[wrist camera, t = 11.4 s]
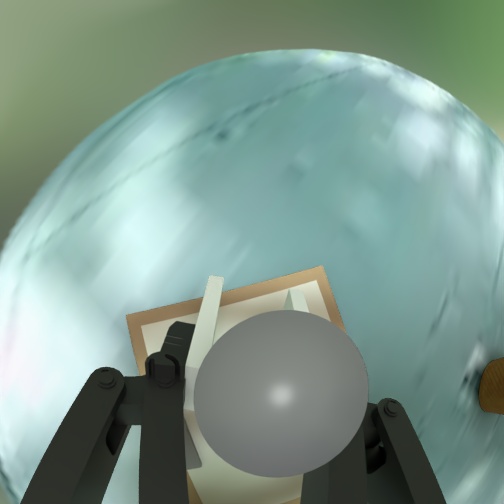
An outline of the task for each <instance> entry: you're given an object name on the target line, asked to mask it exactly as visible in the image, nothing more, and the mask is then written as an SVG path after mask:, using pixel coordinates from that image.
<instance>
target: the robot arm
mask: <svg viewBox="0 0 504 504" xmlns="http://www.w3.org/2000/svg"><path fill="white" fill-rule="evenodd" d="M223 281H224V278H223V277H218V276H212V275H210V276H209V280H208V283H207V287H206V290H205V294H204V298H203V301H202V305H201V308H200V312H199V316H198V319H197V323H196V324H191V323H186V322H181V321H175V322H174V323H173V324H172V325H171V326H170V327H169V329H168V331H167V334H166V337H165V339H164V343H163V345H162V347H161V350H160V351H158V352H155V353H152V354H151V355H149V356H148V357H147V358H146V361H145V372H146V374H145V375H142V376H136V377H123V375H122V374H121V372H120V371H118V370H116V369H115V368H111V367H101V368H99V369H96V370H95V371H94V372H93V373H92V374H91V375H90V377H89V378H88V380H87V381H86V383H85V385H84V386H83V388H82V389H81V391H80V393H79V394H78V396H77V398H76V399H75V401H74V403H73V404H72V406H71V408H70V409H69V411H68V413H67V414H66V416H65V418H64V419H63V421H62V423H61V425H60V426H59V428H58V430H57V432H56V433H55V435H54V437H53V439H52V441H51V443H50V444H49V446H48V448H47V450H46V452H45V454H44V456H43V458H42V459H41V461H40V463H39V465H38V467H37V469H36V471H35V473H34V475H33V477H32V479H31V481H30V483H29V486H28V488H27V490H26V492H25V494H24V496H23V499H22V501H21V503H20V504H101V503H102V500H103V497H104V494H105V492H106V489H107V486H108V484H109V481H110V478H111V476H112V473H113V471H114V468H115V465H116V463H117V460H118V458H119V455H120V453H121V450H122V448H123V445H124V443H125V440H126V438H127V435H128V433H129V430H130V428H131V426H132V425H141V439H140V459H139V504H189V495H188V484H187V472H186V457H185V438H184V409H186V410H192V411H194V404H193V400H194V387H195V381H196V377H197V374H198V371H199V368H200V366H201V364H202V362H203V360H204V358H205V356H206V355H207V353H208V352H209V350H210V349H211V347H212V346H213V342H214V336H215V330H216V324H217V319H218V312H219V306H220V300H221V293H222V287H223ZM283 310H297V311H303V312H308V313H309V310H308V307H307V304H306V300H305V297H304V294H303V290H296V289H290V288H289V291H288V294H287V297H286V301H285V304H284V308H283ZM183 407H184V408H183ZM300 504H446V501H445V499H444V496H443V494H442V491H441V489H440V486H439V484H438V481H437V479H436V477H435V474H434V472H433V470H432V467H431V465H430V463H429V461H428V458H427V456H426V454H425V452H424V450H423V447H422V445H421V443H420V441H419V439H418V437H417V435H416V432H415V430H414V428H413V426H412V424H411V422H410V420H409V418H408V416H407V414H406V412H405V410H404V408H403V407H402V405H401V404H400V403H399V402H398V401H396V400H394V399H391V398H385V399H382V400H381V401H380V402H379V403H378V404H372V403H367V408H366V411H365V415H364V418H363V420H362V423H361V425H360V427H359V429H358V431H357V432H356V434H355V436H354V437H353V438H352V440H351V441H350V442H349V444H348V445H347V446H346V447H345V448H344V449H343V450H342V451H341V452H340V453H339V454H338V455H337V456H335V457H334V458H333V459H332V460H330V461H329V462H327V463H326V464H324V465H322V466H320V467H318V468H316V469H314V470H312V471H309V472H307V473H304V474H303V482H302V491H301V500H300Z"/></svg>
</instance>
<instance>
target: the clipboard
mask: <svg viewBox="0 0 504 504" xmlns="http://www.w3.org/2000/svg"><path fill="white" fill-rule="evenodd" d="M289 288H290V289H296V290H303V294H304V297H305V300H306V304H307V307H308V310H309V313H311V314H315V315H318V316H320V317H322V318H324V319H327V320H328V321H330V322H332V323H333V324H335V325H336V326H338V327H339V328H340V329H341V330H343V331H344V332H345V333H346V331H345V328H344V325H343V322H342V319H341V316H340V313H339V310H338V307H337V304H336V302H335V299H334V296H333V293H332V290H331V288H330V285H329V282H328V279H327V277H326V274H325V271H324V269H323V266H318V267H315V268H311V269H307V270H304V271H300V272H297V273H293V274H290V275H286V276H282V277H279V278H275V279H271V280H267V281H264V282H260V283H256V284H252V285H249V286H245V287H241V288H237V289H233V290H229V291H225V292H222V293H221V300H220V306H219V312H218V319H217V324H216V330H215V336H214V342H213V345H214V344H215V343H216V341H217V340H218V339H219V338H220V337H221V336H222V335H223V334H225V333H226V332H227V331H228V330H229V329H231V328H232V327H234V326H235V325H237V324H238V323H240V322H242V321H244V320H246V319H248V318H250V317H253V316H255V315H258V314H261V313H266V312H270V311H278V310H283V308H284V304H285V301H286V297H287V294H288V291H289ZM203 298H204V297H201V298H197V299H193V300H189V301H185V302H181V303H177V304H172V305H168V306H164V307H160V308H155V309H151V310H147V311H142V312H138V313H133V314H129V315H126V319H127V324H128V329H129V333H130V338H131V342H132V346H133V351H134V355H135V359H136V363H137V366H138V370H139V374H140V376H142V375H145V374H146V372H145V361H146V358H147V357H148V356H149V355H151V354H152V353H155V352H158V351H160V350H161V347H162V345H163V343H164V339H165V337H166V334H167V331H168V329H169V327H170V326H171V325H172V324H173V323H174V322H175V321H181V322H186V323H191V324H196V323H197V319H198V316H199V312H200V308H201V305H202V301H203ZM183 408H184V407H183ZM184 438H185V457H186V472H187V484H188V495H189V504H300V500H301V491H302V482H303V474H300V475H296V476H291V477H281V478H272V477H262V476H256V475H253V474H249V473H246V472H243V471H241V470H239V469H237V468H235V467H233V466H231V465H230V464H228V463H227V462H225V461H224V460H223V459H222V458H220V457H219V456H218V455H217V454H216V453H215V452H214V451H213V450H212V449H211V447H210V446H209V445H208V443H207V442H206V440H205V439H204V437H203V436H202V433H201V431H200V429H199V427H198V424H197V420H196V417H195V412H194V411H192V410H186V409H184Z"/></svg>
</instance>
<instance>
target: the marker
mask: <svg viewBox="0 0 504 504" xmlns="http://www.w3.org/2000/svg"><path fill="white" fill-rule="evenodd" d="M368 395H369V383H368V375H367V371H366V366H365V363H364V361H363V358H362V356H361V354H360V352H359V350H358V348H357V347H356V345H355V344H354V343H353V341H352V340H351V339H350V338H349V336H348V335H347V334H346V333H345V332H344V331H343V330H341V329H340V328H339V327H338V326H336V325H335V324H333V323H332V322H330V321H328V320H327V319H324V318H322V317H320V316H318V315H315V314H311V313H308V312H303V311H297V310H278V311H270V312H266V313H261V314H258V315H255V316H253V317H250V318H248V319H246V320H244V321H242V322H240V323H238V324H237V325H235V326H234V327H232V328H231V329H229V330H228V331H227V332H226V333H225V334H223V335H222V336H221V337H220V338H219V339H218V340H217V341H216V343H215V344H214V345H213V346H212V347H211V349H210V350H209V352H208V353H207V355H206V356H205V358H204V360H203V362H202V364H201V366H200V368H199V371H198V374H197V377H196V381H195V387H194V400H193V404H194V412H195V417H196V420H197V424H198V427H199V429H200V431H201V433H202V436H203V437H204V439H205V440H206V442H207V443H208V445H209V446H210V447H211V449H212V450H213V451H214V452H215V453H216V454H217V455H218V456H219V457H220V458H222V459H223V460H224V461H225V462H227V463H228V464H230V465H231V466H233V467H235V468H237V469H239V470H241V471H243V472H246V473H249V474H253V475H256V476H262V477H272V478H281V477H291V476H296V475H300V474H304V473H307V472H309V471H312V470H314V469H316V468H318V467H320V466H322V465H324V464H326V463H327V462H329V461H330V460H332V459H333V458H334V457H335V456H337V455H338V454H339V453H340V452H341V451H342V450H343V449H344V448H345V447H346V446H347V445H348V444H349V442H350V441H351V440H352V438H353V437H354V436H355V434H356V432H357V431H358V429H359V427H360V425H361V423H362V420H363V418H364V415H365V411H366V408H367V403H368Z"/></svg>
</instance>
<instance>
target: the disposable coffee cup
mask: <svg viewBox="0 0 504 504" xmlns="http://www.w3.org/2000/svg"><path fill="white" fill-rule="evenodd" d="M479 402H480V406H481V408H482V410H484V411H485V412H491V413H497V414H502V415H504V357H503V358H500V359H497V360H493V361H491V362H490V363H489V364H488V365H487V367H486V369H485V371H484V373H483V376H482V379H481V383H480V388H479Z"/></svg>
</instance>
